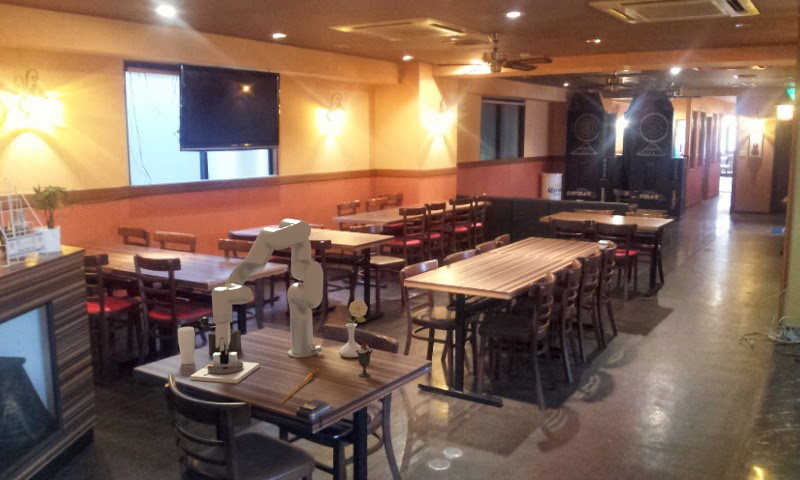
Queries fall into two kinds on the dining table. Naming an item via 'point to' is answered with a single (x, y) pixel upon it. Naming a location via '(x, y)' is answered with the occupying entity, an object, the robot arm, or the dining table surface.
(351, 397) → the dining table surface
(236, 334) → the coffee grinder
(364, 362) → the sundae
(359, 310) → the flower in vase
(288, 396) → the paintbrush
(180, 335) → the drinking glass
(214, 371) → the dial
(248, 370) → the dial plate
